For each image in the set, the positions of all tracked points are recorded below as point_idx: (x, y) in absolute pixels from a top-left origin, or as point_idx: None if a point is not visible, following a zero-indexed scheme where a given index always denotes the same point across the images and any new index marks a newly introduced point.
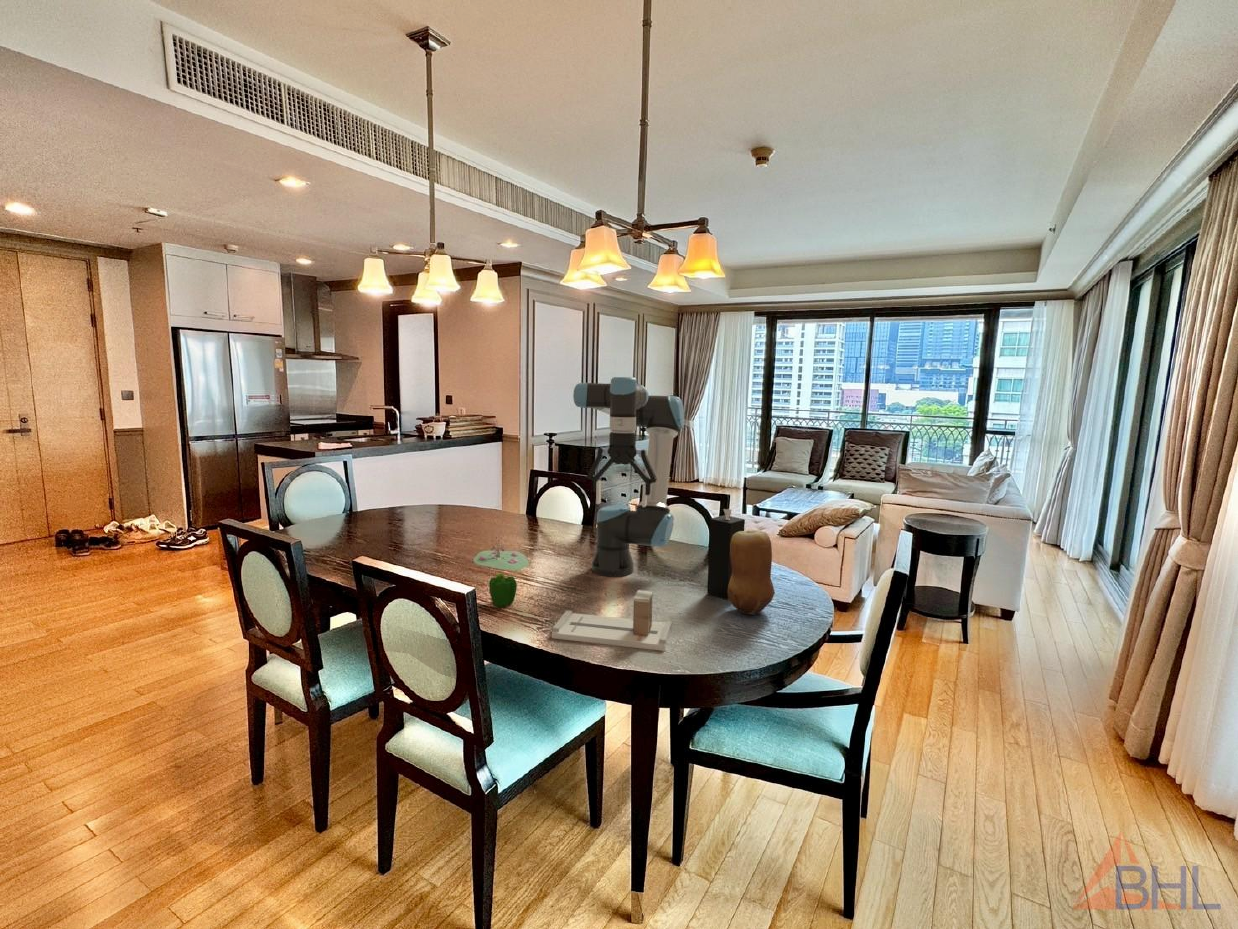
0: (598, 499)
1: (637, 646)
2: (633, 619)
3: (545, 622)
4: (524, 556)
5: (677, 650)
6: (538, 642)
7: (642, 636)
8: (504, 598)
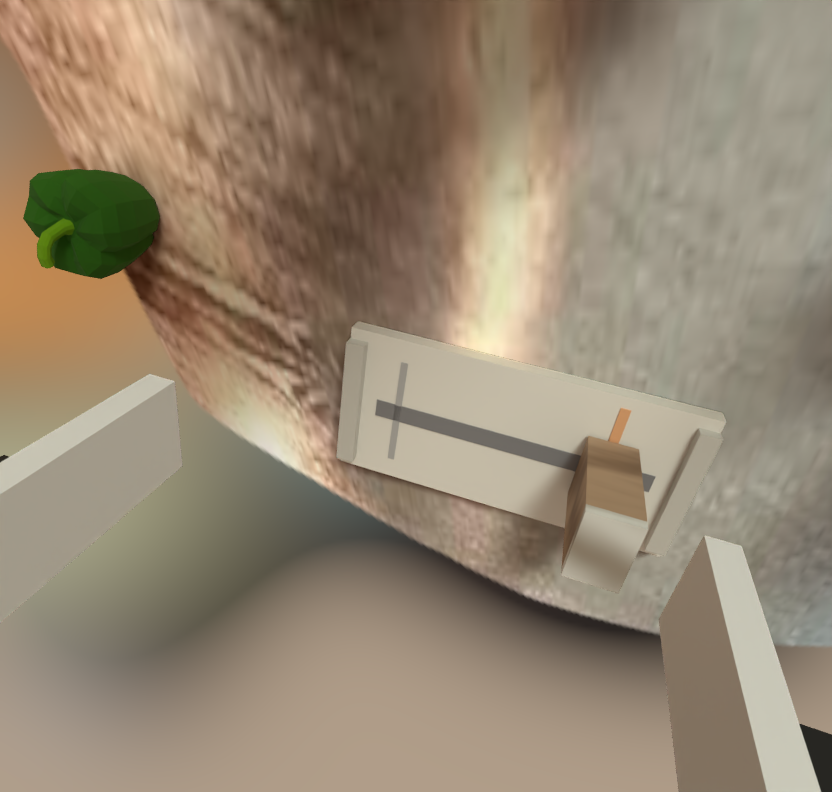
0: (145, 495)
1: None
2: (565, 523)
3: (303, 355)
4: None
5: (698, 545)
6: (320, 470)
7: None
8: (132, 261)
